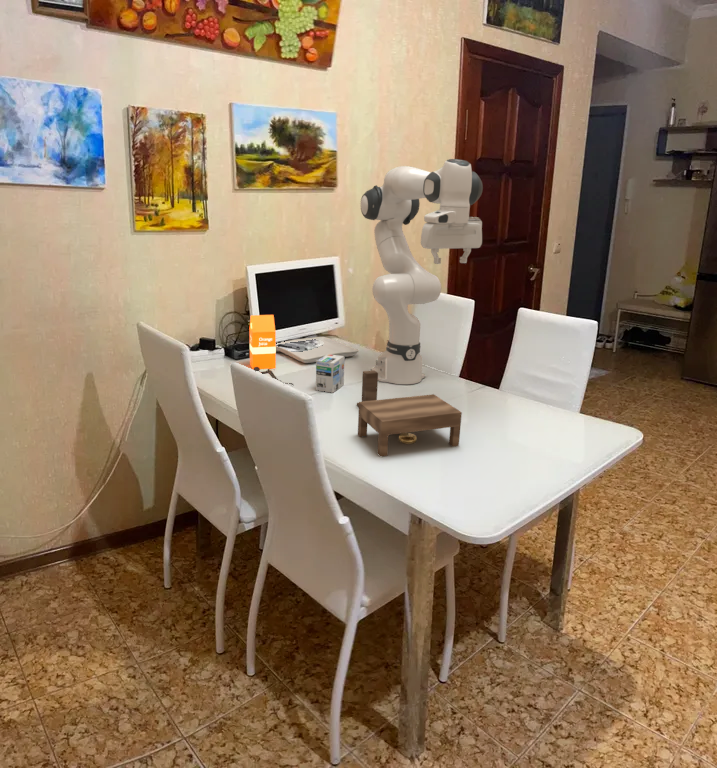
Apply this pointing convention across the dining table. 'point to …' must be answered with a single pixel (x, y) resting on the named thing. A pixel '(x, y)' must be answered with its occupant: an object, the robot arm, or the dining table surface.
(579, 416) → the dining table surface
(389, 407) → the wooden footstool
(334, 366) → the light bulb box
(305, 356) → the square plate
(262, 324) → the orange juice
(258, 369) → the hacksaw
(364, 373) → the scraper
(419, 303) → the robot arm
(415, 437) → the token
